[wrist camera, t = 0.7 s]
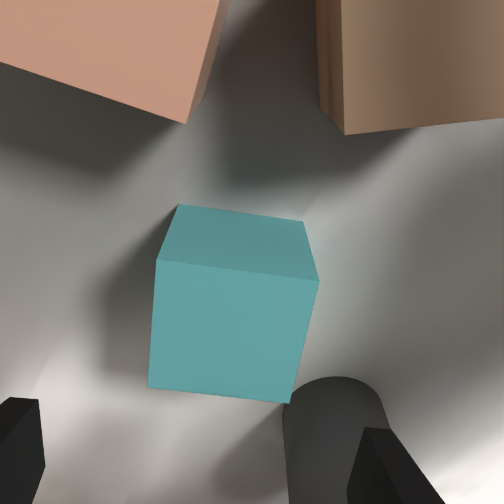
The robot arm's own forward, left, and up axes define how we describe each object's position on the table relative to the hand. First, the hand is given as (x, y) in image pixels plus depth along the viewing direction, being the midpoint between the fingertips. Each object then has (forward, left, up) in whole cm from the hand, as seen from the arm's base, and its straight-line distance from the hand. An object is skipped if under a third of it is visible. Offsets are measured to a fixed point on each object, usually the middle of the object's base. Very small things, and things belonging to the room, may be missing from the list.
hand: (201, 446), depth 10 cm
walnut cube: (-4, -9, -10) cm, 14 cm away
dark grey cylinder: (-6, +8, -10) cm, 14 cm away
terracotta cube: (+4, -9, -10) cm, 14 cm away
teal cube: (0, +1, -10) cm, 10 cm away
